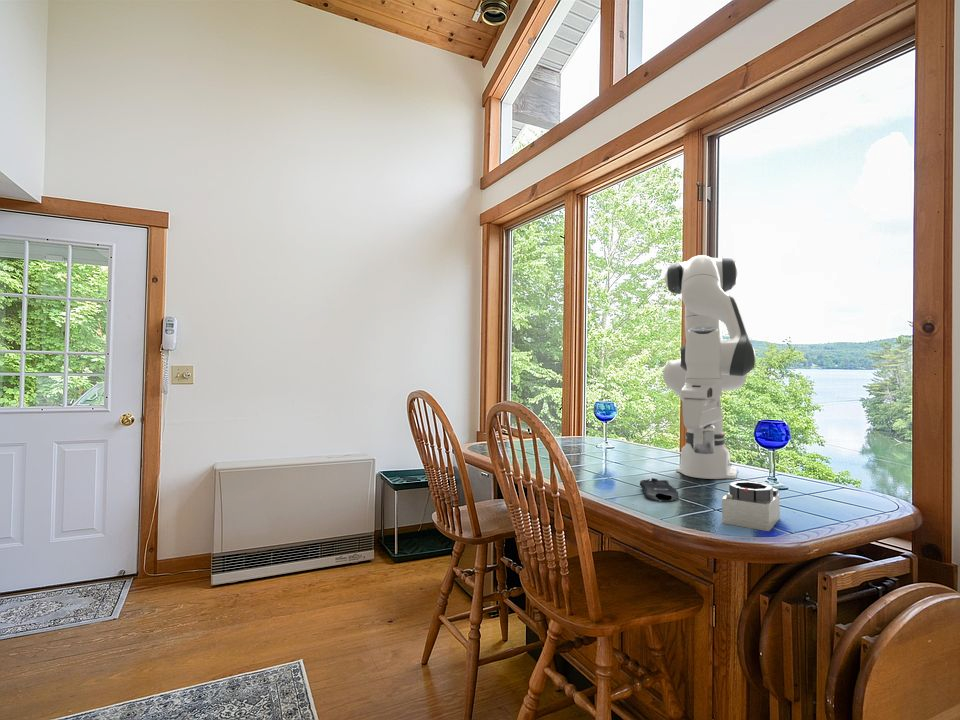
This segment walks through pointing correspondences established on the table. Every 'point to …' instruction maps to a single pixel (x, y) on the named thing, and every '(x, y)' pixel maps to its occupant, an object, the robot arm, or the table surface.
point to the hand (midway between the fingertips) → (703, 441)
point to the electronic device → (658, 489)
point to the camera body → (751, 505)
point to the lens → (706, 441)
